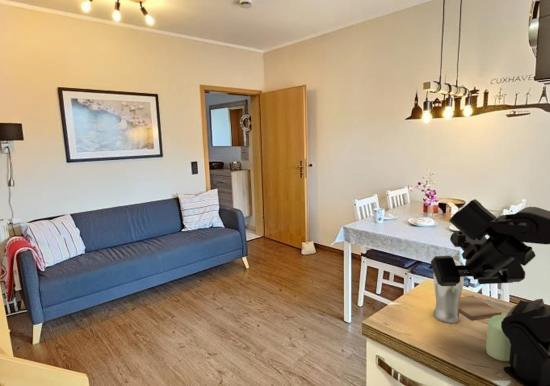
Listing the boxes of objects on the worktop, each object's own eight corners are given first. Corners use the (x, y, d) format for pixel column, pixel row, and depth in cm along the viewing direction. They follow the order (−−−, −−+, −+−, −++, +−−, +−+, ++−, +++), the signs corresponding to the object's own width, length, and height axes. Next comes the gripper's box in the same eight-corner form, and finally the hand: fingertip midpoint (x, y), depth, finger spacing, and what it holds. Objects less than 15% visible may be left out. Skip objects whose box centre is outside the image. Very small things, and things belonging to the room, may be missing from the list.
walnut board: (501, 315, 90) (501, 312, 90) (471, 320, 88) (471, 316, 88) (472, 298, 100) (472, 295, 100) (445, 302, 98) (445, 299, 98)
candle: (499, 363, 72) (502, 327, 70) (480, 349, 76) (482, 315, 75) (519, 359, 73) (522, 323, 71) (499, 345, 78) (501, 311, 76)
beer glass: (459, 327, 86) (463, 269, 83) (429, 319, 89) (432, 264, 87) (462, 314, 91) (466, 260, 89) (434, 308, 95) (436, 256, 93)
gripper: (519, 218, 75) (484, 251, 88) (436, 222, 75) (412, 254, 87) (546, 265, 69) (503, 293, 81) (455, 270, 68) (426, 297, 81)
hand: (460, 283), depth 83 cm, fingers open, 9 cm apart
